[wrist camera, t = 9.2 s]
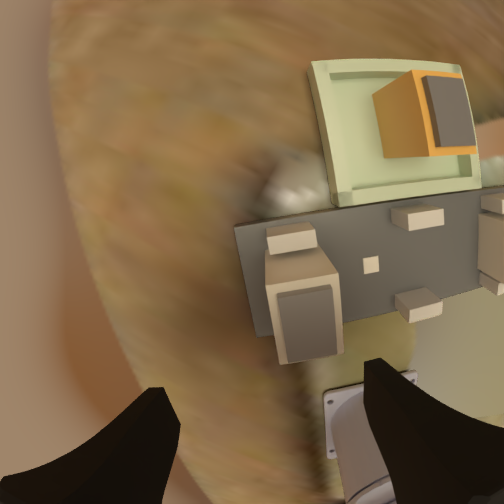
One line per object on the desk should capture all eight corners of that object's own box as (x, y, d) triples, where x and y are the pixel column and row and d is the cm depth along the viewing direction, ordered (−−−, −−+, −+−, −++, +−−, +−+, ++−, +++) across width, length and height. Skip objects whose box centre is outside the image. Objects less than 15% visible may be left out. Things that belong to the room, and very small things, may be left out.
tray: (464, 185, 17) (481, 188, 15) (331, 203, 18) (339, 207, 16) (444, 71, 15) (459, 65, 13) (306, 72, 16) (311, 61, 14)
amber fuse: (424, 154, 16) (483, 153, 10) (384, 158, 16) (435, 156, 10) (413, 94, 15) (466, 71, 9) (371, 94, 15) (416, 66, 9)
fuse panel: (505, 272, 18) (559, 304, 11) (256, 329, 20) (253, 400, 13) (507, 185, 16) (571, 197, 10) (235, 224, 18) (218, 257, 11)
